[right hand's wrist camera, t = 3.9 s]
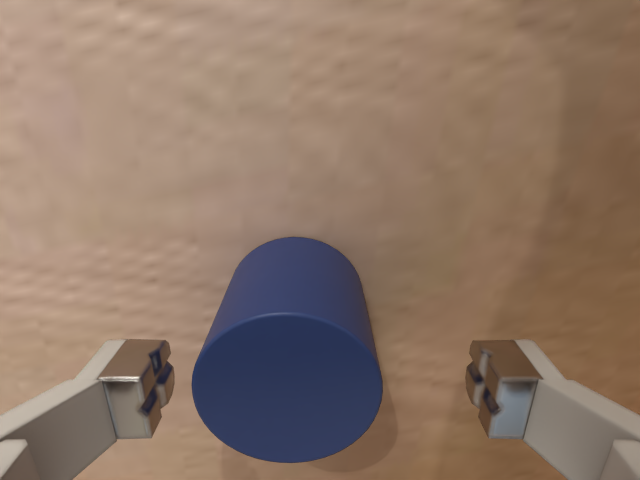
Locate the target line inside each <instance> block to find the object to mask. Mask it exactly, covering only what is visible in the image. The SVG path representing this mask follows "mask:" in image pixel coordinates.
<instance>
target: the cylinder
mask: <svg viewBox="0 0 640 480" xmlns="http://www.w3.org/2000/svg"><path fill="white" fill-rule="evenodd" d="M382 393H383V383H382V376H381V371H380V367H379V362H378V358H377V353H376V349H375V344H374V340H373V335H372V331H371V326H370V322H369V317H368V312H367V308H366V303H365V299H364V294H363V290H362V285H361V282H360V279H359V276H358V274H357V272H356V270H355V268H354V267H353V265H352V264H351V263H350V261H349V260H348V259H347V258H346V257H345V256H344V255H343V254H341V253H340V252H339V251H338V250H336V249H334V248H333V247H331V246H329V245H327V244H325V243H323V242H320V241H317V240H313V239H308V238H301V237H289V238H281V239H277V240H273V241H270V242H267V243H265V244H263V245H261V246H259V247H257V248H256V249H254V250H253V251H251V252H250V253H249V254H248V255H247V256H246V257H245V258H244V259H243V260H242V261H241V263H240V264H239V265H238V267H237V269H236V270H235V273H234V275H233V277H232V279H231V282H230V284H229V286H228V289H227V291H226V293H225V296H224V298H223V300H222V303H221V305H220V307H219V310H218V312H217V314H216V317H215V319H214V322H213V324H212V326H211V329H210V331H209V333H208V336H207V338H206V340H205V343H204V345H203V347H202V350H201V352H200V354H199V357H198V359H197V361H196V364H195V367H194V371H193V375H192V394H193V399H194V403H195V406H196V409H197V411H198V413H199V416H200V417H201V419H202V420H203V422H204V424H205V425H206V426H207V427H208V429H209V430H210V431H211V432H212V433H213V434H214V435H215V436H216V437H217V438H218V439H220V440H221V441H222V442H224V443H225V444H226V445H228V446H230V447H231V448H233V449H235V450H236V451H239V452H241V453H243V454H245V455H248V456H251V457H254V458H257V459H261V460H266V461H271V462H279V463H298V462H307V461H313V460H317V459H321V458H325V457H327V456H330V455H333V454H335V453H337V452H339V451H341V450H343V449H345V448H346V447H348V446H349V445H351V444H352V443H354V442H355V441H356V440H357V439H359V438H360V437H361V436H362V435H363V434H364V433H365V432H366V430H367V429H368V428H369V427H370V425H371V424H372V422H373V421H374V419H375V417H376V415H377V413H378V410H379V407H380V404H381V400H382Z"/></svg>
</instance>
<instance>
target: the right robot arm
mask: <svg viewBox="0 0 640 480" xmlns="http://www.w3.org/2000/svg"><path fill="white" fill-rule="evenodd" d="M170 354H171V351H170V346H169V343H168V342H167V341H166V340H141V339H129V340H128V339H110V340H108V341H106V342H105V343H104V344H103V345H102V346H101V348H100V349H99V350H98V351H97V352H96V354H95V355H94V356H93V357H92V358H91V360H90V361H89V362H88V363H87V364H86V365H85V367H84V368H83V369H82V370H81V371H80V373H79V374H78V375H77V376H76V377H75V379H74V380H66V381H64V382H62V383H60V384H58V385H57V386H55V387H53V388H51V389H49V390H47V391H45V392H43V393H41V394H39V395H37V396H36V397H34V398H32V399H30V400H28V401H26V402H24V403H22V404H20V405H18V406H17V407H15V408H13V409H11V410H9V411H7V412H5V413H3V414H1V415H0V480H72V479H73V478H75V477H76V476H77V475H78V474H79V473H80V472H81V471H83V470H84V469H85V468H86V467H87V466H88V465H90V464H91V463H92V462H93V461H94V460H95V459H97V458H98V457H99V456H100V455H101V454H102V453H104V452H105V451H106V450H107V449H108V448H109V447H110V446H112V445H113V444H114V443H115V442H116V441H117V440H116V439H140V438H152V436H153V434H154V432H155V430H156V428H157V426H158V424H159V422H160V420H161V417H162V415H161V410H160V409H161V408H163V407H164V406H165V405H167V404H168V403H169V400H170V398H171V396H172V392H173V388H174V368H173V366H172V365H171V364H170V363H169V362H168V361H167V360H168V358H169V356H170ZM469 354H470V356H471V358H472V360H473V361H472V362H471V363H470V364H469V365H468V366H467V369H466V377H465V379H466V389H467V392H468V396H469V398H470V400H471V403H472V404H473V405H475V406H476V407H477V408H479V409H480V410H479V415H478V417H479V419H480V422H481V424H482V426H483V428H484V430H485V432H486V434H487V436H488V438H499V439H523V441H524V442H525V443H526V444H527V445H529V446H530V447H531V448H532V449H533V450H534V451H536V452H537V453H538V454H539V455H540V456H541V457H542V458H544V459H545V460H546V461H547V462H548V463H549V464H551V465H552V466H553V467H554V468H555V469H556V470H557V471H559V472H560V473H561V474H562V475H563V476H564V477H566V478H567V479H568V480H640V415H639V414H637V413H635V412H633V411H631V410H629V409H627V408H625V407H623V406H621V405H620V404H618V403H616V402H614V401H612V400H610V399H608V398H606V397H604V396H602V395H601V394H599V393H597V392H595V391H593V390H591V389H589V388H587V387H585V386H583V385H582V384H580V383H578V382H576V381H574V380H566V379H565V377H564V376H563V375H562V374H561V373H560V371H559V370H558V369H557V368H556V367H555V366H554V364H553V363H552V362H551V361H550V360H549V358H548V357H547V356H546V355H545V354H544V352H543V351H542V350H541V349H540V348H539V346H538V345H537V344H536V343H535V342H534V341H533V340H531V339H512V340H473V341H472V343H471V345H470V351H469Z"/></svg>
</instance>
